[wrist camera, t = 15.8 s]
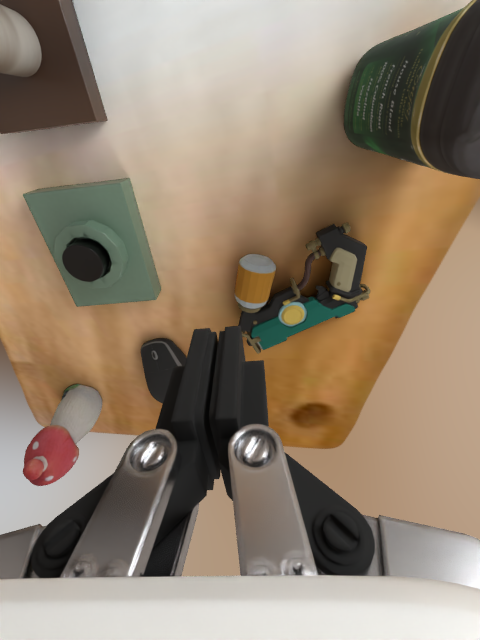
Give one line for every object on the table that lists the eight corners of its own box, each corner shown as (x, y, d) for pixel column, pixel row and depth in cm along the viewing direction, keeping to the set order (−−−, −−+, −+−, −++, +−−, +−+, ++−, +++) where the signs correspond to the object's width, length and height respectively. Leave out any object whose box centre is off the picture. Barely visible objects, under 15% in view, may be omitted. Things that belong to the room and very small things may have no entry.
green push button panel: (38, 188, 32) (10, 198, 28) (129, 178, 31) (113, 186, 27) (86, 295, 39) (69, 314, 35) (161, 289, 38) (152, 308, 34)
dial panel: (-57, -37, 23) (-88, -53, 21) (55, -58, 22) (35, -76, 20) (18, 132, 29) (0, 134, 27) (107, 120, 28) (96, 120, 26)
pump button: (63, 240, 31) (54, 246, 29) (101, 236, 30) (94, 242, 29) (79, 276, 33) (71, 283, 31) (114, 273, 32) (108, 280, 31)
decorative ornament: (75, 372, 47) (13, 464, 34) (115, 390, 49) (69, 483, 36) (56, 404, 51) (-5, 496, 38) (94, 419, 53) (46, 512, 41)
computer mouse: (176, 332, 42) (170, 350, 39) (206, 391, 48) (203, 411, 45) (131, 342, 43) (121, 361, 40) (166, 399, 50) (160, 419, 46)
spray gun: (362, 211, 33) (361, 319, 42) (215, 245, 34) (243, 343, 43) (379, 223, 29) (373, 339, 38) (214, 261, 31) (245, 364, 40)
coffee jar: (333, 150, 29) (429, 187, 14) (354, 39, 25) (531, -87, 9) (433, 155, 29) (639, 197, 14) (471, 46, 25) (839, -70, 9)
